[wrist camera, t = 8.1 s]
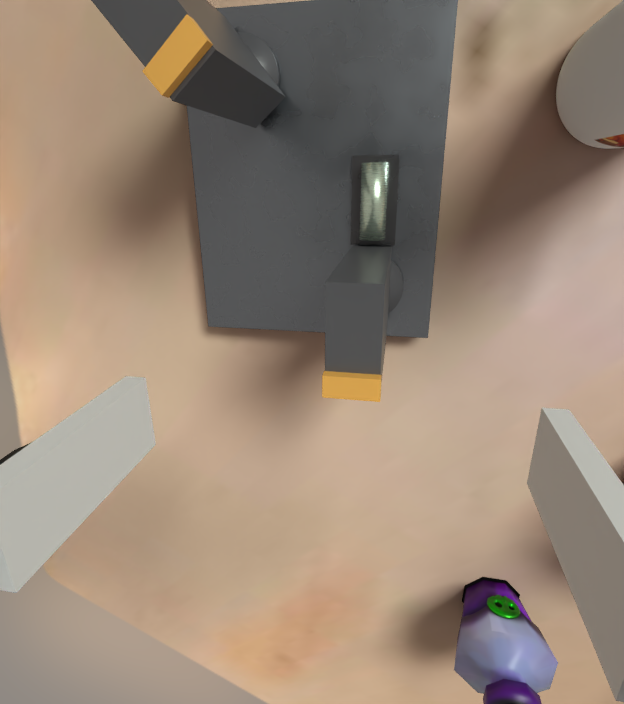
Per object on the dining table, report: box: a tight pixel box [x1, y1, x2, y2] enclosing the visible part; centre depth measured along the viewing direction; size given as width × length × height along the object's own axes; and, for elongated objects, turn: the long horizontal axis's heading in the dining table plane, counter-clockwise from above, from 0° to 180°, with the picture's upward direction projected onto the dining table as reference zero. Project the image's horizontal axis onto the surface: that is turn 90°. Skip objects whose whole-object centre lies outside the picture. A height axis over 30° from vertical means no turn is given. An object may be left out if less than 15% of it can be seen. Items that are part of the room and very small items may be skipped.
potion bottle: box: [454, 577, 558, 704], centre depth 40 cm, size 9×9×12 cm
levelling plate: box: [187, 0, 458, 338], centre depth 32 cm, size 22×18×4 cm
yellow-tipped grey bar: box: [91, 0, 285, 128], centre depth 24 cm, size 6×5×14 cm
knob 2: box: [322, 246, 403, 402], centre depth 28 cm, size 6×5×14 cm
